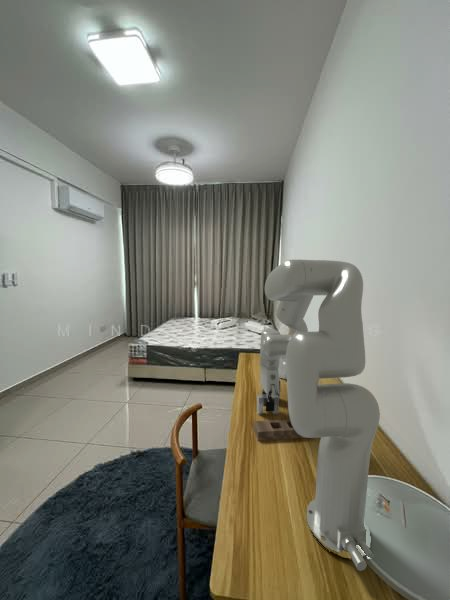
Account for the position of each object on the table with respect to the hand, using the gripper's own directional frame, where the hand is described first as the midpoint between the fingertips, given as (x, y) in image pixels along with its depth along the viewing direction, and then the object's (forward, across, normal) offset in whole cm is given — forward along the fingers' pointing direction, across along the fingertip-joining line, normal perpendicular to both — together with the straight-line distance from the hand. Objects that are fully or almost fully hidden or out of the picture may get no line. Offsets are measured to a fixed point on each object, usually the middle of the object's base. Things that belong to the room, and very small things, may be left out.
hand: (267, 406), depth 97 cm
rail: (+3, -13, -2) cm, 13 cm away
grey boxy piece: (+3, 0, 0) cm, 3 cm away
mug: (+3, +33, -19) cm, 38 cm away
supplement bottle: (+3, +10, -5) cm, 12 cm away
